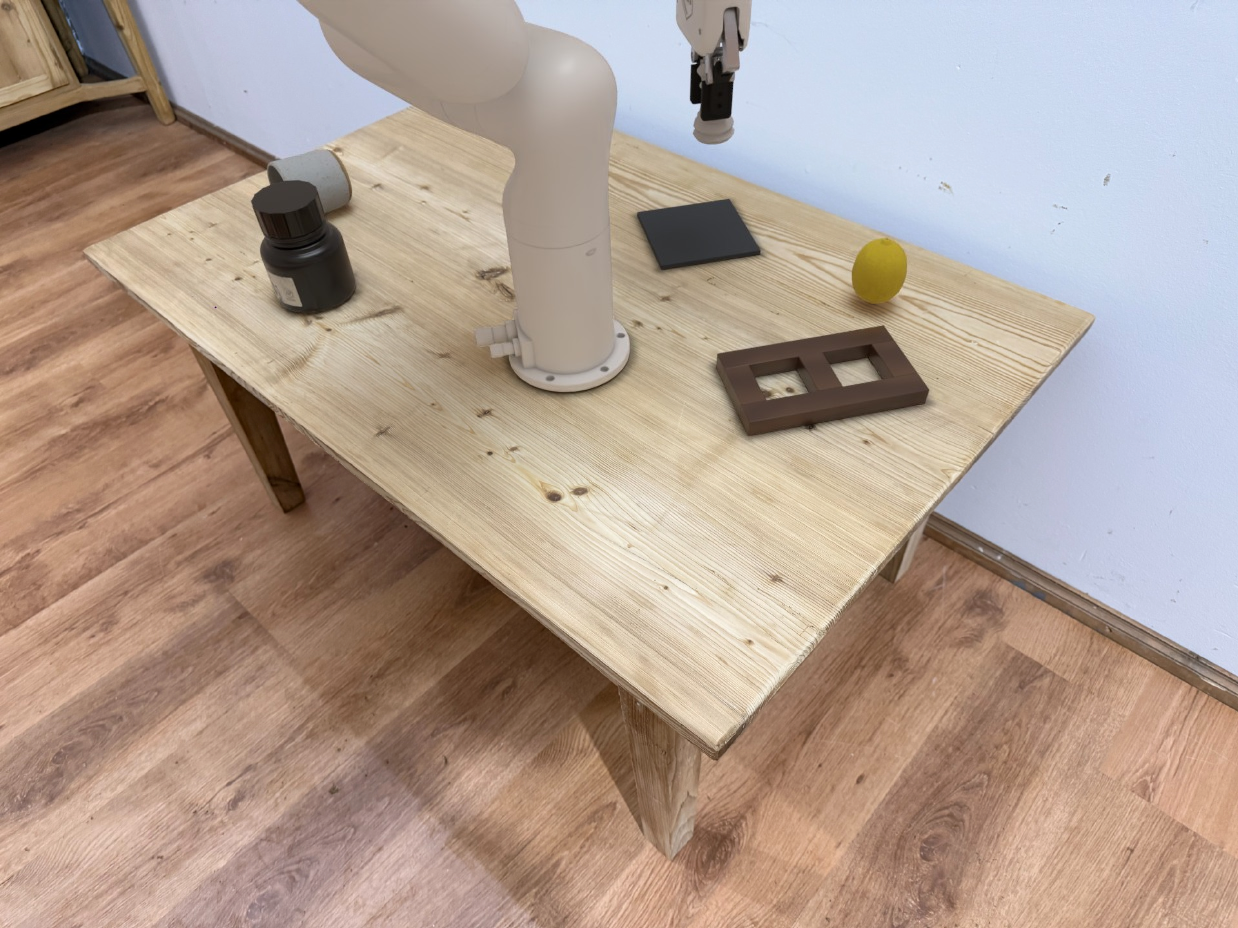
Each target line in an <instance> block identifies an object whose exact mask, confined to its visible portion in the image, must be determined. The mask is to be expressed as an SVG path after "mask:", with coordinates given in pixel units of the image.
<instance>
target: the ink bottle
mask: <svg viewBox="0 0 1238 928" xmlns="http://www.w3.org/2000/svg"><path fill="white" fill-rule="evenodd" d="M250 204H251V207H252V209H253V212H254V215H255V218H256V221H257V222H258V225H259V228H260V231H261V232H262V235H263V237H264V238H263V239H262V241H261V243H260V246H259V254H260V258H261V261H262V264H263V266H264V269H265V272H266V273H267V276H268V279H269V281H270V284H271V286H272V289H273V292H274V294H275V297H276V299H277V301H278V302H279V304H280V305H281V306H282V307H283V308H285V309H286V310H288V311H290V312H293V313H302V314H304V313H305V314H306V313H307V314H308V313H318V312H321V311H322V312H323V311H326V310H330V309H333V308H335V307H337V306H339V305H341V304H344V302H346V301H347V300H348V299H349V298H350V297H351V296H352V295H353V293H354V291H355V289H356V284H357V283H356V282H357V281H356V276H355V273H354V270H353V266H352V263H351V260H350V256H349V252H348V250H347V247H346V244H345V240H344V237H343V235H342V233H341V231H340V229H338V228H337V227H336V226H335V225H334V224H333V223H331V222H328V221H327V216H326V213H325V212H324V209H323V206H322V203H321V199H320V196H319V193H318V191H317V188H316V186H314V185H313V184H311V183H310V182H306V181H300V180H286V181H282V182H278V183H273V184H271V185H270V184H269V185H266V186H264V187H262V188H261V189H259V190H258V191H256V193H254V195H253V196H252V199H251V200H250Z"/></svg>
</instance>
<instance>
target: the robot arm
mask: <svg viewBox="0 0 1238 928" xmlns="http://www.w3.org/2000/svg"><path fill="white" fill-rule="evenodd" d="M675 1H676V4H675V22H676V25H677V27H678V29H679V30H680V32H681V33H682V35H683V36H684V38H685V40H686V41H687V42H688V43H689V46H690V61H691V63H692V64H690V79H689V82H690V83H689V101H690V104H692V105H701V109H700V108H699V110H700V117H701V119H702V121H712V120H719V119H727V118H730V117H731V116H732V112H733V98H734V84H735V83H734V81H736V80H735V78H736V72H738V71H739V70H740V67H741V62H740V52H743V51H744V50H746V48H747V47H748V44H749V39H750V29H751V21H752V20H751V19H752V6H753V5H752V4H753V0H675ZM296 2H298V3H299V4H300V5H301V6H302V7H303V8H304V9H305V10H306V11H308V12H309V13H310V14H311V15H312V16H314V17H315V18H316V19H318V23H319V27H320V30H321V33H322V34H323V37H324V39H325V41H326V43H327V44H328V46H329V48H330V49H331V51H332V52H333V54H334V55H335V56H336V58H338V60H339V61H340V62H341V63H342V64H343V65H345V66H346V67H347V69H349V70H350V71H351V72H353V73H355V74H356V75H358V76H359V77H360V78H362V79H364V80H366V81H368V82H370V84H371V83H372V84H373V85H374V86H377V87H378V88H380V89H382V90H384V91H385V92H387V93H389V94H391V95H392V96H393V97H394V96H395V97H396V98H398V99H400V100H402V101H404V102H405V103H406V104H409V105H411V106H412V107H414V108H416V109H418V110H420V111H421V112H424V113H426V114H427V115H429V116H431V117H433V118H435V119H438V120H439V121H440V122H444V124H447V125H449V126H452V127H454V128H457V129H459V130H461V131H464V132H468V133H470V134H472V135H475V136H478V137H480V138H484V139H486V140H489V141H491V142H492V143H495V144H497V145H500V146H502V147H505V148H507V149H508V150H509V151H511V152H512V154H513V157H514V166H513V169H512V171H511V174H510V175H509V177H508V179H507V180H506V183H505V184H504V188H503V192H502V198H501V200H502V201H501V203H502V205H501V206H502V215H503V224H504V228H505V235H506V241H507V246H508V247H507V248H508V256H509V262H510V269H511V276H512V284H513V290H514V296H515V304H516V308H513V309H512V316H513V319H509V320H508V319H507V320H504V324H501V325H500V324H499V325H494V326H492V325H489V326H483V327H476V328H474V329H473V330H474V336H475V342H476V347H477V348H482V347H489V352H490V357H491V359H497V358H503V357H504V356H505V357H506V356H508V361H509V364H510V367H511V369H512V371H513V372H514V373H515V374H516V375H517V376H518V377H519V378H520V379H521V380H522V381H524V382H526V383H527V384H529V385H530V386H533V387H536V388H538V389H541V390H546V391H549V392H550V391H551V392H559V393H572V392H573V393H574V392H580V391H586V390H589V389H590V390H591V389H593V388H596V387H598V386H599V387H600V385H603V384H605V383H607V382H609V381H610V380H612V379H613V378H615V377H616V376H617V375H618V374H619V373H620V372H621V371H622V370H623V369H624V368H625V366H626V365H627V363H628V360H629V358H630V353H631V341H630V336H629V334H628V332H627V330H626V329H625V327H624V326H623V324H621V322H619V321H618V320H617V319H616V318H615V315H614V312H615V311H614V290H613V268H612V267H613V266H612V241H611V239H612V238H611V219H610V217H611V216H610V199H609V197H610V195H609V190H610V189H609V175H610V174H609V172H610V156H611V146H612V141H613V133H614V127H615V121H616V116H617V107H618V85H617V80H616V76H615V74H614V71H613V69H612V67H611V65H610V63H609V62H608V60H607V59H606V57H604V55H603V54H602V53H601V52H600V51H598V49H596V47H594V46H593V45H591V44H589V43H588V42H586V41H584V40H582V39H580V38H578V37H576V36H574V35H571V34H568V33H566V32H563V31H559V30H556V29H553V28H550V27H547V26H546V27H545V26H542V25H539V24H536V23H535V24H534V23H531V22H527V21H525V18H524V15H523V13H522V11H521V9H520V7H519V6H518V4H517V2H516V0H296ZM721 45H722V46H721ZM720 56H723V58H722V60H721V61H717V62H716V63H715V65H714V57H717V60H719V57H720ZM703 57H705V80H704V81H702V79H701V77H700V75H699V74H698V72H697V69H698V67H699V66H700V61H701V59H703ZM701 82H702V84H701V88H700V86H699V85H700V83H701Z"/></svg>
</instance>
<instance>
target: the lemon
mask: <svg viewBox="0 0 1238 928" xmlns="http://www.w3.org/2000/svg"><path fill="white" fill-rule="evenodd" d="M907 272H908V259H907V254H906V251H905V249H904V248H903V247H902V245H900V244H899V243H898V242H897V241H895V240H893V239H891V238H889V237H881V238H876V239H873V240H871V241H869V242H867V243H866V244H865V245H863V246H862V247H861V249H860V250H859V251H858V254H857V255H856V257H855V259H854V262H853V265H852V269H851V285H852V288H853V290H854V292H855V294H856V295H857V296H858V297H859V298H860V299H861V300H864V302H867V303H869V304H871V305H874V304H883V303H886V302H889V301H890V300H892V299H893V298H895V297H896V296H897V295H898V294H899V292H900V291H901V289H902V287H903V286H904V284H905V281H906V278H907Z"/></svg>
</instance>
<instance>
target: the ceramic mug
mask: <svg viewBox="0 0 1238 928" xmlns="http://www.w3.org/2000/svg"><path fill="white" fill-rule="evenodd" d="M266 175H267V179H268V183H269V185H271V184H273V183H278V182H282V181H286V180H300V181H306V182H310V183H311V184H313V185H314V186H316V188H317V191H318V193H319V196H320V199H321V203H322V206H323V209H324V212H325V214H328V213H330V212H332V211H335V210H337V209H340V208H342V207H344V206H345V205H347V204H349V203H350V201H351V200H352V196H353V187H352V181H351V179H350V176H349V173H348V170H347V168H346V166H345V164H344V162H343V161H342V159H341V158H340V157H339V156H338V155H337V154H336V153H335V152H334V151H332V150H331V149H329V148H327V149H326V148H325V149H315V150H312V151H307V152H304V153H301V154H297V155H293V156H288V157H284V158H280V159H277V160H273V161H270V162H269V163H267V166H266Z"/></svg>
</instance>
